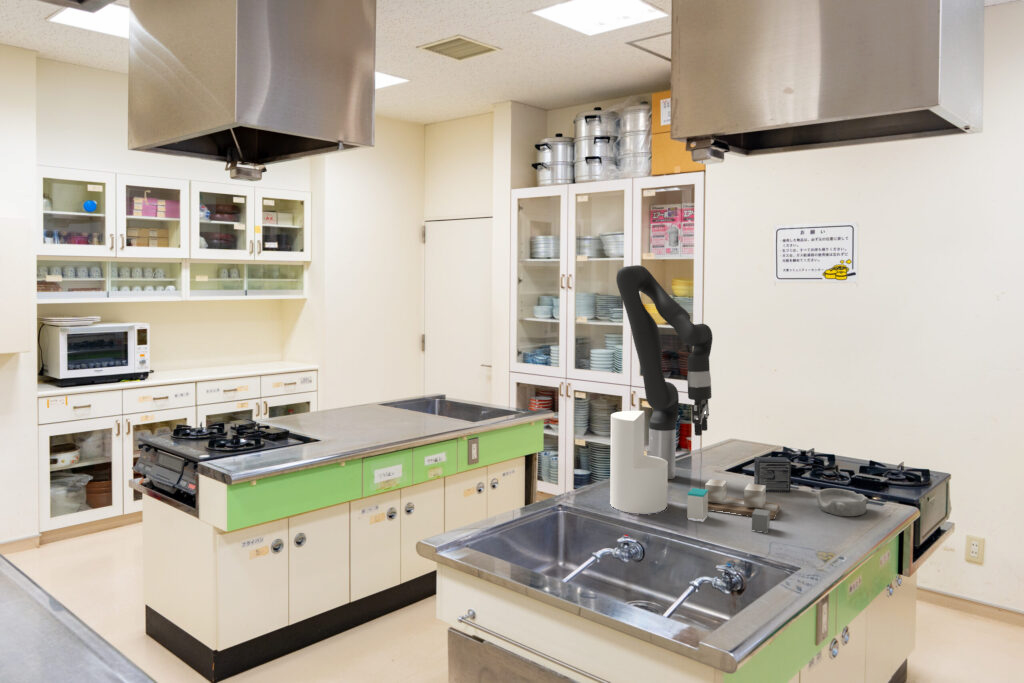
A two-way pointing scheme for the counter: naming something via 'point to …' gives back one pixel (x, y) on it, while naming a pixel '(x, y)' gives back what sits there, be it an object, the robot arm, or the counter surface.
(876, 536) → the counter surface
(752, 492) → the board
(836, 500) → the dish
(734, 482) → the counter surface
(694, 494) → the block
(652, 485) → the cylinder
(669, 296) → the robot arm
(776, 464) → the small box
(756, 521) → the grey block
